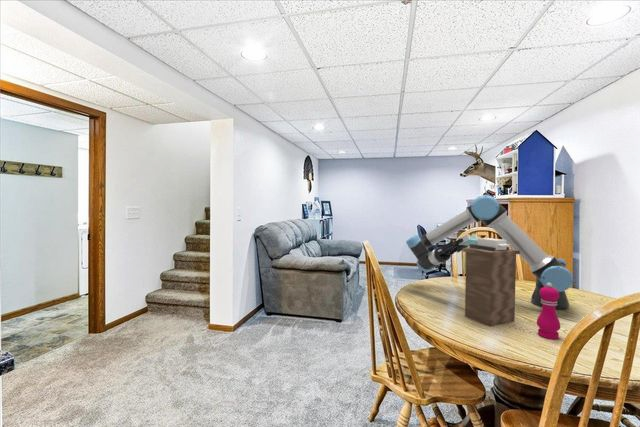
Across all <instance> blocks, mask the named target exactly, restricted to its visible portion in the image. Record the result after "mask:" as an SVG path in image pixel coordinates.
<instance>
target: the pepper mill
mask: <svg viewBox="0 0 640 427" xmlns="http://www.w3.org/2000/svg"><path fill="white" fill-rule="evenodd" d="M539 294H540V296H541V297H542V299H541V303H542V306H541V311H540V314H539V315H538V316H537V320H536V325H537V326H538V327H539V328H538V330H537V335H538V336H540V337H541V338H545V339H548V340H558V339H559V335H560V334H559V330H561V323H560V320H559V317H558V315H557V313H556V309H555V308H556V305H557V301H556V300H557V299H558V298H559V292H558V291H557V290H556V289H555V288H553V287H552V284H551V283H547V287H543V288H541V289H540V292H539Z"/></svg>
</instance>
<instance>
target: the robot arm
mask: <svg viewBox="0 0 640 427" xmlns="http://www.w3.org/2000/svg"><path fill="white" fill-rule="evenodd" d="M465 208H466V209H465V210H464V211H462V212H461V213H459V214H457V215H455V216H454V217H452V218H450V219H449V220H447V221H446V222H444V223H442V224H440V225H439V226H437V227H436V228H434V229H431V230H430V231H428V232H427V233H426V234H423V235H422V236H418V235H417V234H415V235H413V236H412V237H410V238H408V239H407V240H406V245H407V247H408V248H409V249H410V251H411V253H413V255H414V256H415V258H416V259H417V260H416V267H417V269H419V270H420V271H421V272H427V271H430V270H432V269H433V268H436V267H440V265H441V264H443V263H445V262H446V261H448V260H450V258H451V255H453V254H454V253H460V252H462V251H463V248H469V246H466V245H462V244H464V243H465V242H467V241H469V240H471V239H478V238H479V237H478V236H477V233H474V234H472V235H469V233H466V234H464V235H463V236H462V237H459V238H460V239H458V238H457V240H456V239H455V240H451V241H449V242H447V243H446V244H444V245H441V246H438V247H437V248H435V249H433V250H432V251H430V250H429V248H432V247H433V246H434V245H436V244H437V243H438V244H439V242H441V241H443V240H445V239H446V238H449V237H450V236H452V235H454V234H455V233H457V232H459V231H461V230H463V229H464V228H466V227H468V226H470V225H471V224H473V223H476V224H477V223H480V222H481V223H482V224H484V225H485V227H487V228H492V229H493V230H494V231H495V232H496V233H497V234H498V235H499V236H500V238H502V240H507V244H509V247H511V249H513V250H520V254H518V255H519V257H521V258H522V259H523V260H524V262H526V264H527V265H529V267H530V268H529V270H530V272H531V273H532V274H533V275H534V276H535V288H534V290H533V293H532V295H531V298H530V299H531V300H530V301H531V302H530V303H532V304H533V305H535V306H538V307H542V303H541V299H542V297H541V296H540V294H539V292H540V289H541V288H543V287H547V283H551V284H552V287H553V288H555V289H556V290H557V291H558V292H559V298H558V299H557V300H556V301H557V305H556V308H555V310H567V309H569V308H570V302H569V298H568V297H567V294H566V291H567V290H569V289H570V288H571V287H572V285H573V284H574V283H573V282H574V277H573V273H572V272H571V271H570V269H568V268H566V266H567V263H566V259H564V258H556V257H555V256H554V255H552V254H551V255H549V254H547V253H546V252H545V251H544V250H543V249H541V247H540V246H539V245H538V244H537V243H535V241H534V240H533V239H532V238H531V237H529V235H528V234H526V232H524V230H522V229H521V228H520V227H519V226H518V224H516V223H515V222H514V221H513V220H512V219H511V218H510V217H509V216H508V210H507V209H506V208H505V207H504V206H503V205H502V204H500V203H499V201H498V199H496V198H495V197H493V196H492V195H488V194H482V195H480V196H477V197H476V198H475V199H474V200H473V201H472V203H471V204H470V205H469V206H467V207H465ZM470 238H471V239H470Z"/></svg>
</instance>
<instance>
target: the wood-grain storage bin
mask: <svg viewBox="0 0 640 427" xmlns="http://www.w3.org/2000/svg"><path fill="white" fill-rule="evenodd" d="M463 252H464V253H465V290H464V291H465V295H464V298H465V299H464V300H465V302H464V304H465V305H464V317H465V318H468V319H471V320H473V321H475V322H477V323H480V324H481V325H485V326H487V327H492V326H497V325H502V324H507V323H513V322H515V321H516V319H515V317H516V316H515V314H516V313H515V312H516V280H517V279H516V276H517V275H516V274H517V272H516V271H517V270H516V268H517V255H519V254H520V250H514V249H513V248H510V246H509V247H506V250H495V247H488V246H481V245H474V244H469V246H468V247H467V248H463V250H462V253H463Z"/></svg>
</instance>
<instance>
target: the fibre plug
mask: <svg viewBox="0 0 640 427" xmlns="http://www.w3.org/2000/svg"><path fill="white" fill-rule="evenodd" d="M460 238H461V237H457V240H458V239H460ZM470 239H471V238H470ZM469 244H474V245H481V246H488V247H495V250H506V247H509V248H510V245H509V244H508V243H507V240H504V239H503V238H502V239H501V238H491V237H480V238H479V237H478V239H471V240H469V241H467V242H465V243H464V244H462V245H466V246H468V247H469Z"/></svg>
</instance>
